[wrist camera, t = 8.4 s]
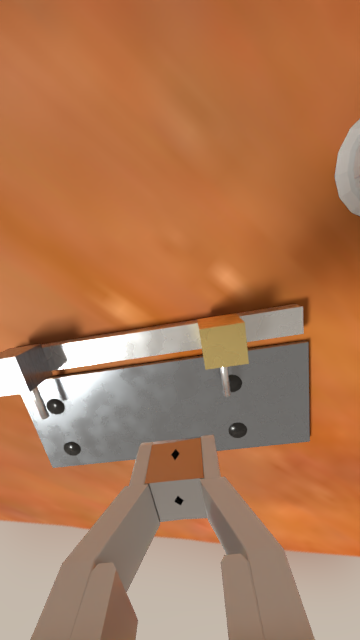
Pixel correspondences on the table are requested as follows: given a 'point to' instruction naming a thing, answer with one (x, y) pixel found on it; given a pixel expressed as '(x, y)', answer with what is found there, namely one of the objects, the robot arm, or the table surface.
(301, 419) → the flange plate
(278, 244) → the table surface
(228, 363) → the sliding head
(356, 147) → the french press
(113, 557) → the robot arm
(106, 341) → the trammel beam
